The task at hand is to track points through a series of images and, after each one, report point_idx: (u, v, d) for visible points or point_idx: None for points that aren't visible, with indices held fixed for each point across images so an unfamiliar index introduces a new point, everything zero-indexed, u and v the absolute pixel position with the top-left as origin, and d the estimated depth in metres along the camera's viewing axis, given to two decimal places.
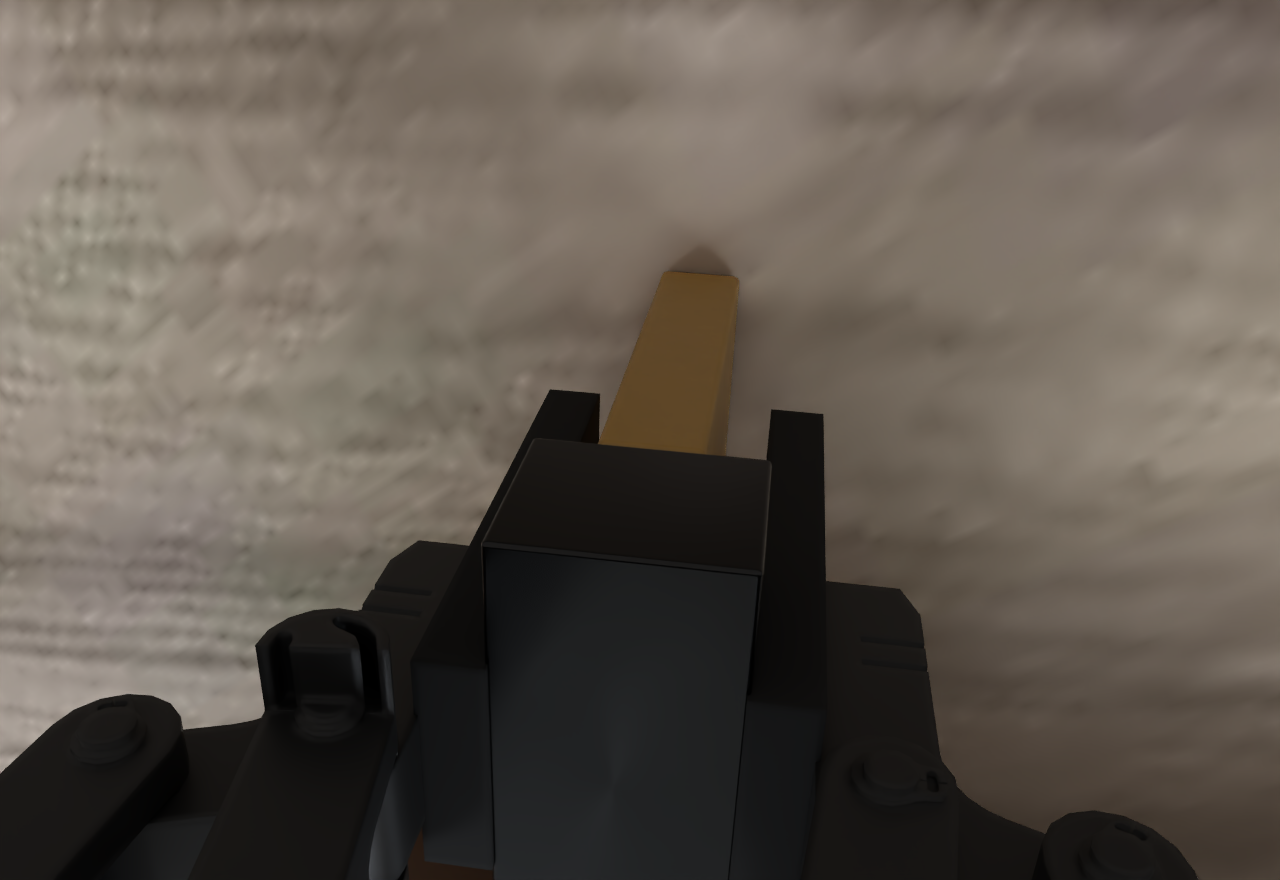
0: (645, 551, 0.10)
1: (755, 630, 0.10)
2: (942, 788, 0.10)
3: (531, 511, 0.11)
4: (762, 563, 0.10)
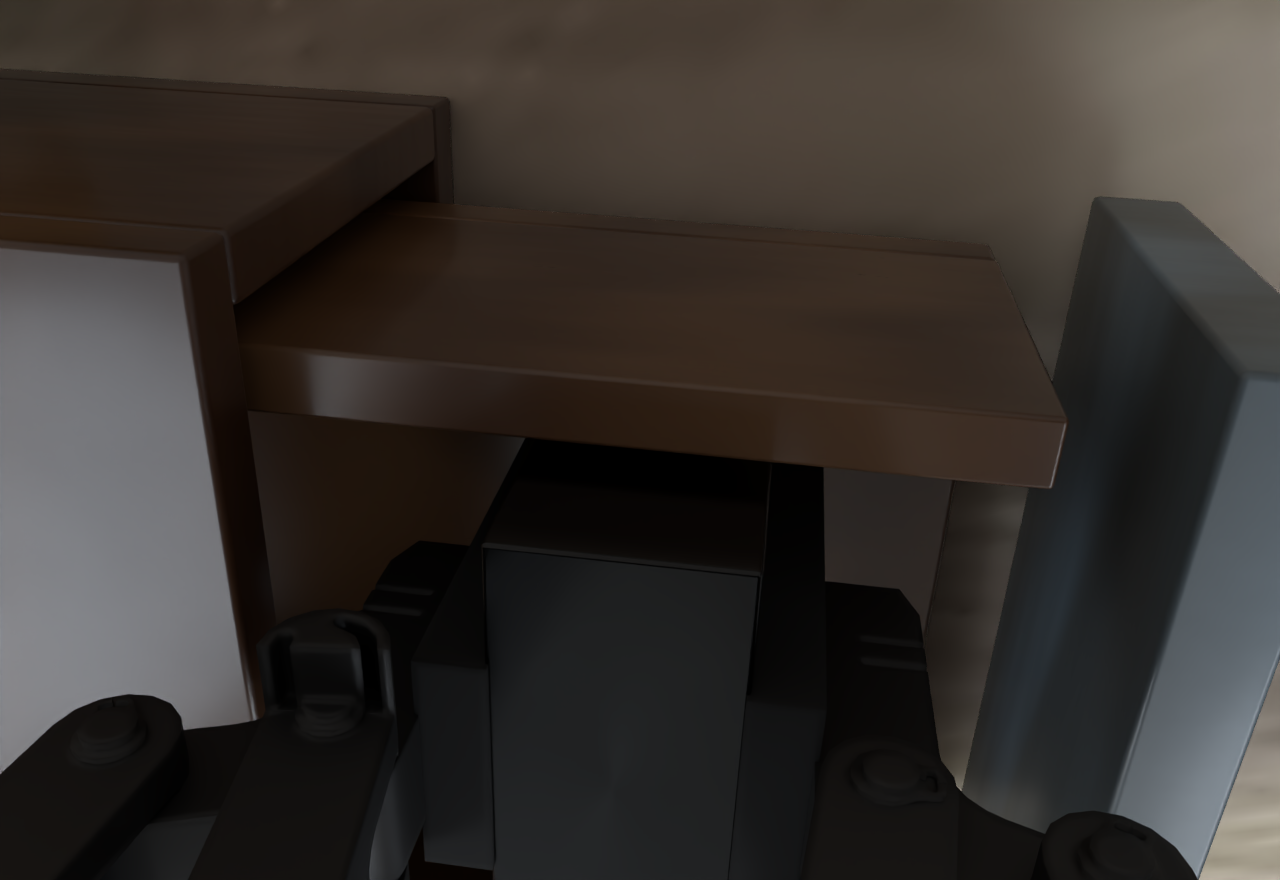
0: (644, 551, 0.10)
1: (755, 631, 0.10)
2: (942, 788, 0.10)
3: (531, 512, 0.11)
4: (762, 564, 0.10)
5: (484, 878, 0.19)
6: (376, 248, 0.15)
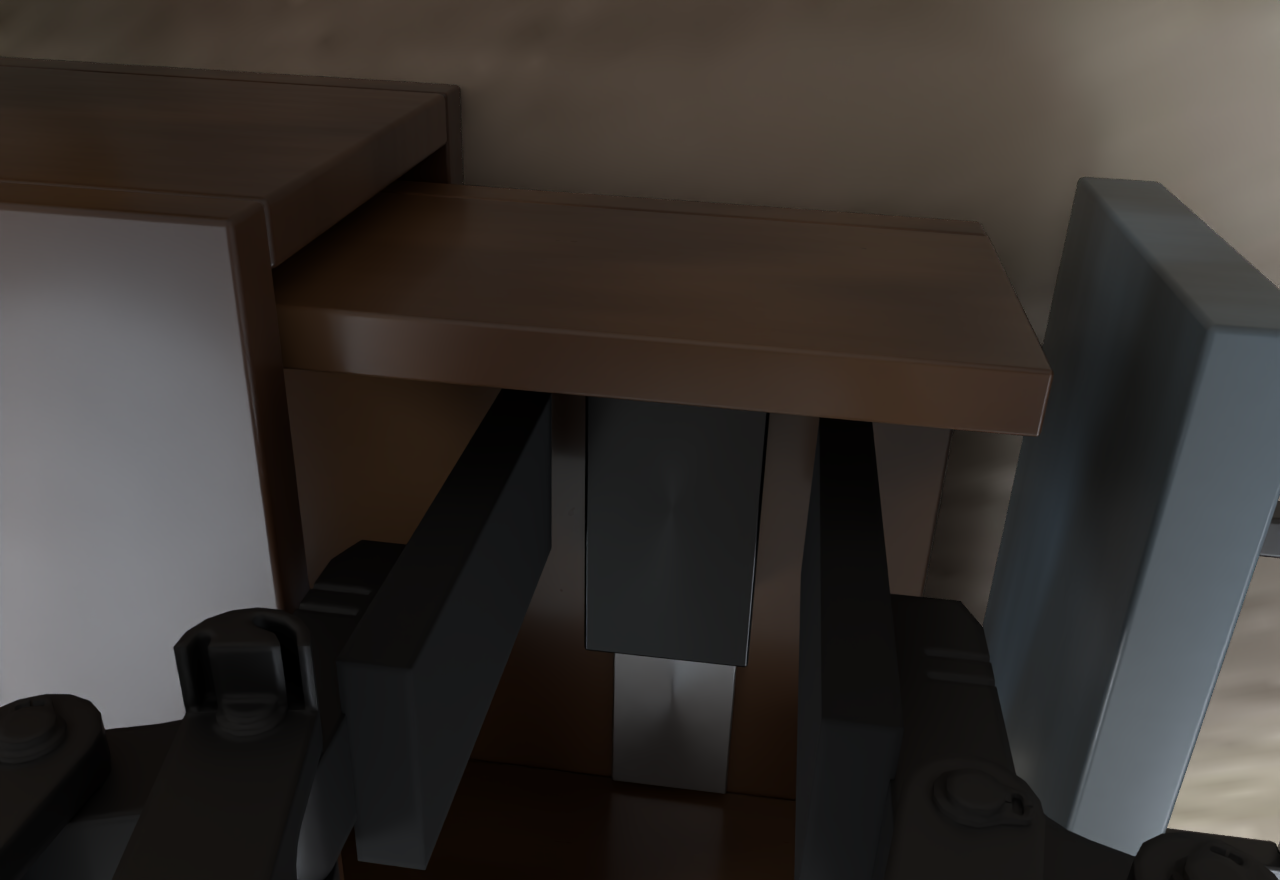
0: None
1: None
2: (1027, 812, 0.10)
3: None
4: None
5: (504, 829, 0.20)
6: (409, 225, 0.16)
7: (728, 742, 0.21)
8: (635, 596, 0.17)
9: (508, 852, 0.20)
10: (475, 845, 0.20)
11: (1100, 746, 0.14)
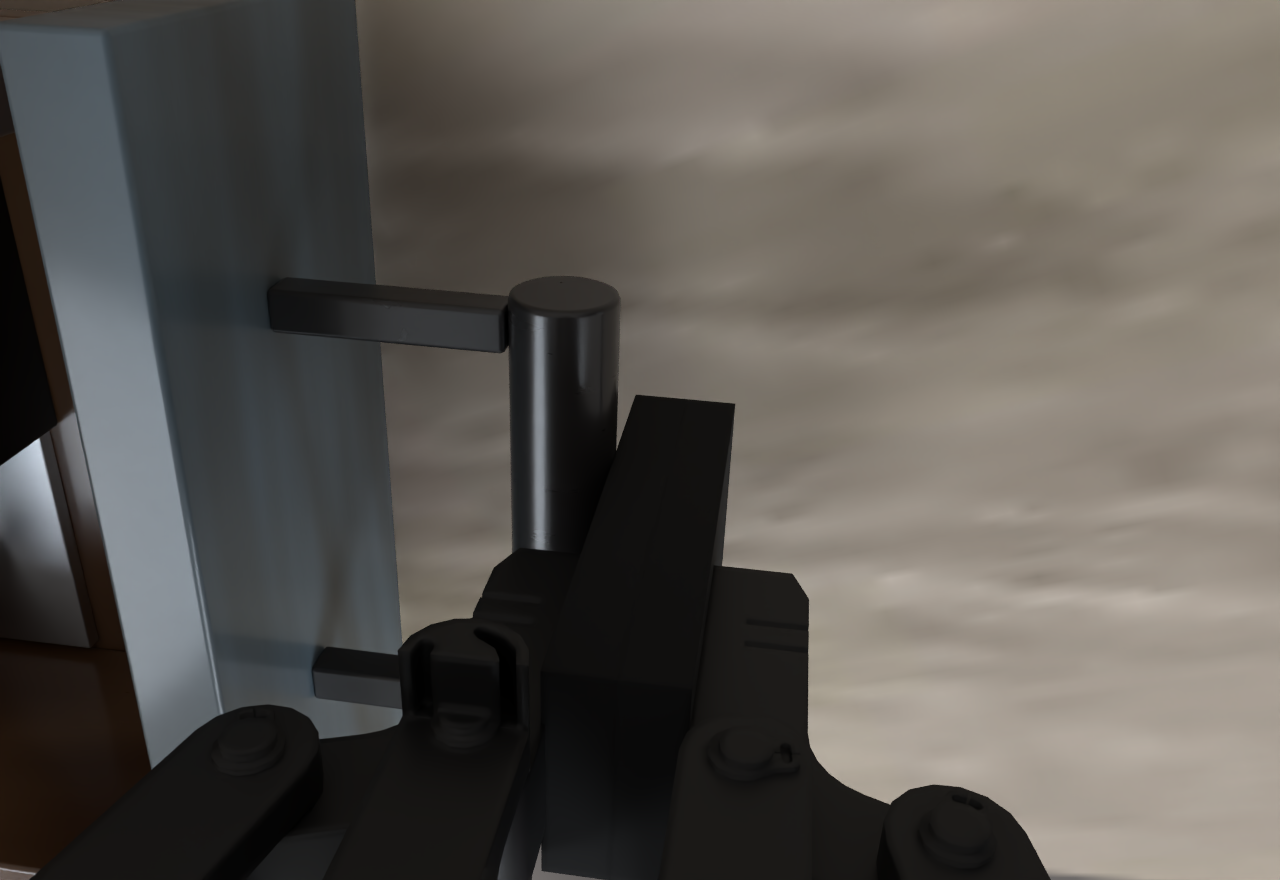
0: None
1: None
2: (796, 759, 0.10)
3: None
4: None
5: None
6: None
7: (74, 591, 0.20)
8: None
9: None
10: None
11: (103, 515, 0.13)
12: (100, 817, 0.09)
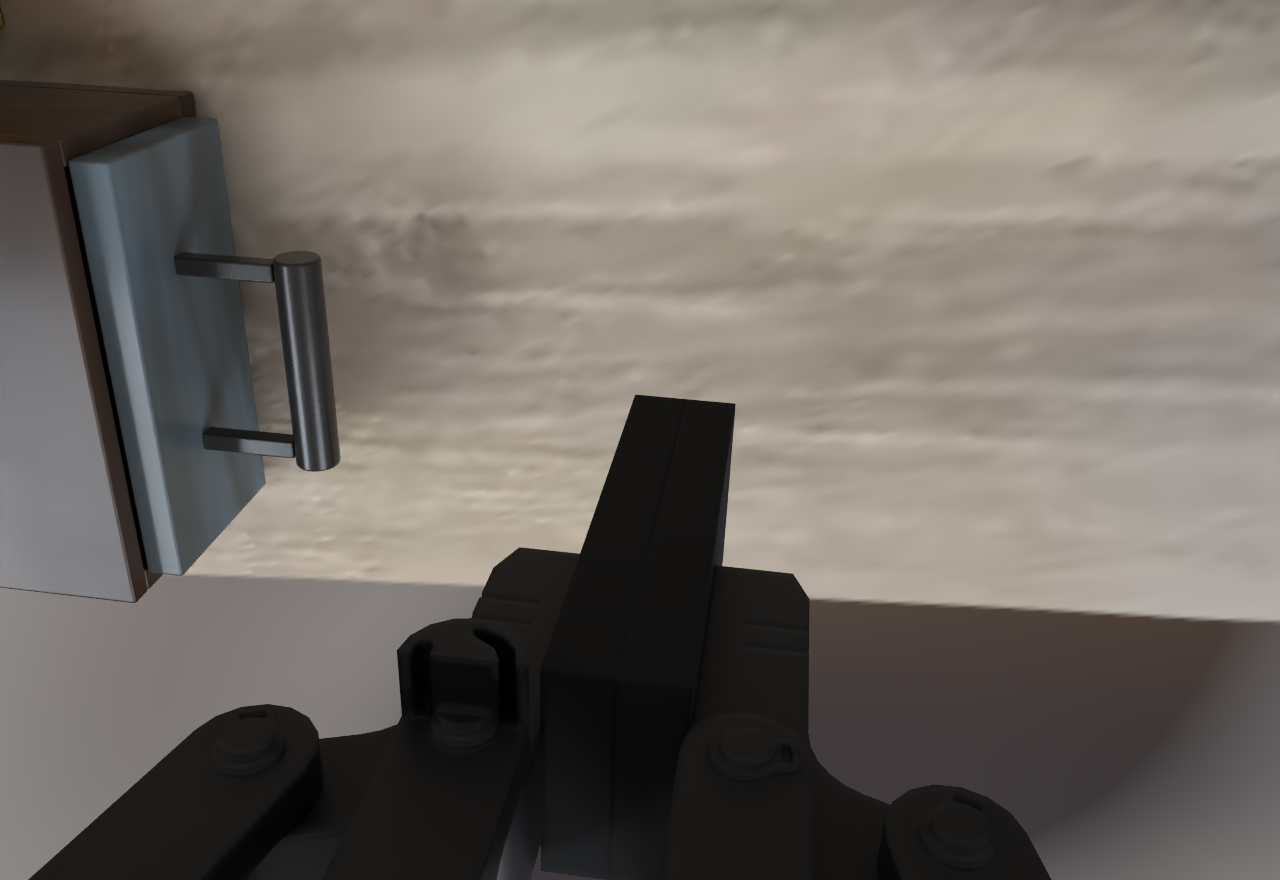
0: None
1: None
2: (797, 759, 0.10)
3: None
4: None
5: None
6: None
7: None
8: None
9: None
10: None
11: (106, 345, 0.33)
12: (100, 817, 0.09)
